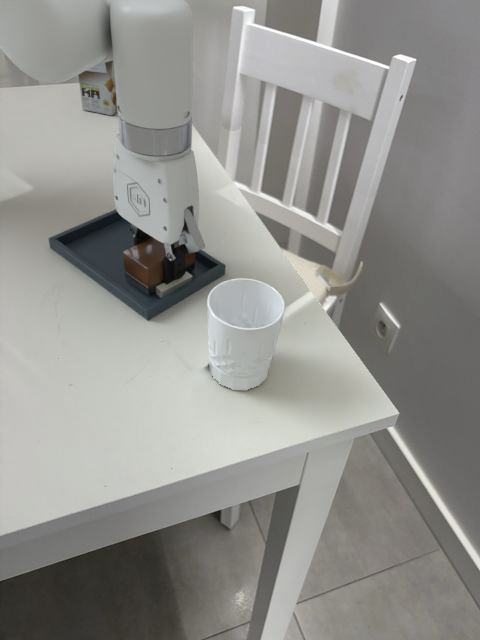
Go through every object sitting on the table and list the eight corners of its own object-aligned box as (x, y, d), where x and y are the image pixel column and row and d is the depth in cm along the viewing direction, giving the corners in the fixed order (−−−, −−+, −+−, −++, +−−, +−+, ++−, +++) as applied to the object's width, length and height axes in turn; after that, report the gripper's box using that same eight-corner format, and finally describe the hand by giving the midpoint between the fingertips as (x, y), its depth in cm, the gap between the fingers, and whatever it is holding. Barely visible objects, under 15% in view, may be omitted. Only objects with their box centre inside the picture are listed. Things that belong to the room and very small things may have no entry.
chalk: (155, 286, 68) (161, 291, 67) (186, 271, 71) (192, 275, 70) (155, 293, 69) (161, 298, 68) (186, 278, 71) (192, 283, 71)
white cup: (266, 402, 59) (278, 336, 52) (196, 387, 60) (198, 320, 53) (278, 351, 65) (290, 286, 58) (213, 338, 65) (217, 271, 58)
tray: (50, 252, 73) (47, 238, 72) (129, 217, 81) (128, 203, 80) (148, 325, 66) (147, 311, 64) (224, 278, 73) (225, 264, 72)
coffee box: (113, 116, 104) (105, 21, 92) (81, 110, 104) (69, 15, 93) (131, 99, 110) (125, 8, 99) (101, 93, 111) (92, 2, 99)
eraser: (124, 278, 70) (122, 251, 67) (171, 253, 74) (171, 227, 71) (148, 295, 68) (147, 268, 65) (195, 269, 72) (195, 242, 69)
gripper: (75, 111, 59) (94, 252, 72) (186, 174, 52) (184, 316, 65) (130, 96, 63) (139, 230, 76) (239, 151, 56) (228, 289, 69)
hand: (160, 268), depth 70 cm, fingers closed on eraser, 4 cm apart
